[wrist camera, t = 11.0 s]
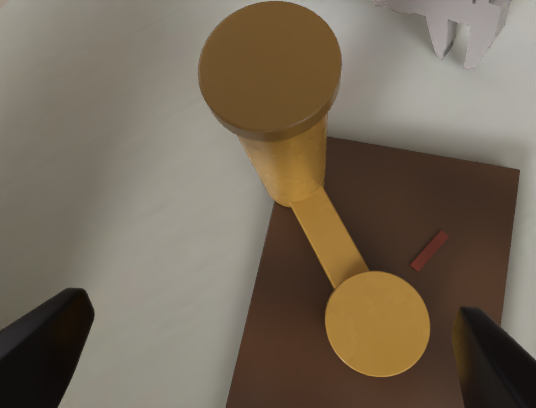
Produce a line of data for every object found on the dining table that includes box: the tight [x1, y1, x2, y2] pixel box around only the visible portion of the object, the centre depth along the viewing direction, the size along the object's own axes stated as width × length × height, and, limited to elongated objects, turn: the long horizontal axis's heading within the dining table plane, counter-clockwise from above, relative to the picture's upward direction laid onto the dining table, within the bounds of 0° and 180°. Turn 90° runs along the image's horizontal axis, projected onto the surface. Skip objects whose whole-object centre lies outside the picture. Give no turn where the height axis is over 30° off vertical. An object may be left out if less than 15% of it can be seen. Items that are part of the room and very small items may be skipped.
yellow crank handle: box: [198, 1, 430, 377], centre depth 15 cm, size 12×4×11 cm, turn 26°
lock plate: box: [226, 137, 520, 408], centre depth 20 cm, size 18×12×1 cm, turn 167°
